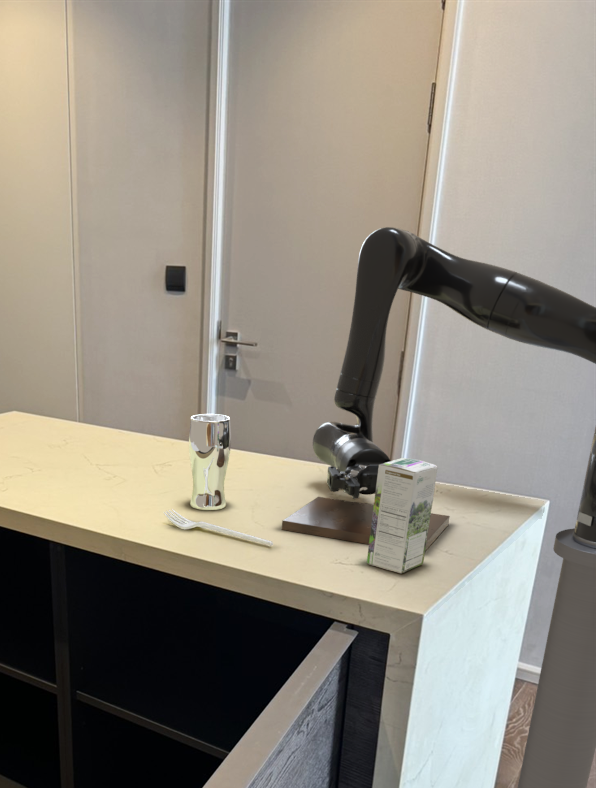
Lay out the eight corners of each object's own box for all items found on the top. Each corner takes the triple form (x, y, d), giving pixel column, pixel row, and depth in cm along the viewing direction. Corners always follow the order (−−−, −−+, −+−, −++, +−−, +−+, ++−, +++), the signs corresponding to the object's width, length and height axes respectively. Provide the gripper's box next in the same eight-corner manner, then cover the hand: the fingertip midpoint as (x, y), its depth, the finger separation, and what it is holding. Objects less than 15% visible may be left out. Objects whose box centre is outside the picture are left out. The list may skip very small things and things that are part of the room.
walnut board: (448, 524, 138) (449, 515, 137) (423, 553, 125) (424, 543, 125) (317, 504, 148) (318, 496, 148) (281, 529, 135) (282, 520, 135)
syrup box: (388, 554, 125) (399, 455, 119) (425, 565, 121) (438, 463, 115) (365, 564, 121) (376, 462, 115) (403, 575, 117) (416, 470, 111)
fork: (265, 550, 126) (266, 538, 126) (161, 523, 138) (161, 512, 138) (277, 545, 129) (278, 533, 128) (173, 519, 141) (173, 507, 140)
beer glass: (206, 497, 152) (208, 412, 146) (236, 505, 148) (240, 417, 142) (179, 505, 148) (180, 417, 142) (209, 513, 143) (212, 423, 137)
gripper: (320, 442, 139) (339, 466, 124) (409, 442, 139) (439, 467, 124) (316, 487, 142) (335, 516, 127) (403, 488, 142) (432, 517, 127)
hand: (386, 492), depth 125 cm, fingers open, 8 cm apart
